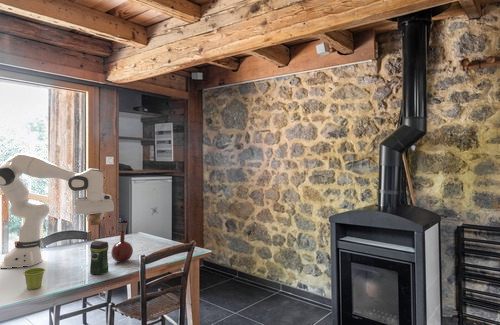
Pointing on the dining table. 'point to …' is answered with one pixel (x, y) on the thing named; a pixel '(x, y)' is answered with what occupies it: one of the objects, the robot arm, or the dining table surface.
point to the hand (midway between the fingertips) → (95, 220)
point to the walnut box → (94, 218)
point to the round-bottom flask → (122, 249)
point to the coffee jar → (99, 257)
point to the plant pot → (34, 277)
